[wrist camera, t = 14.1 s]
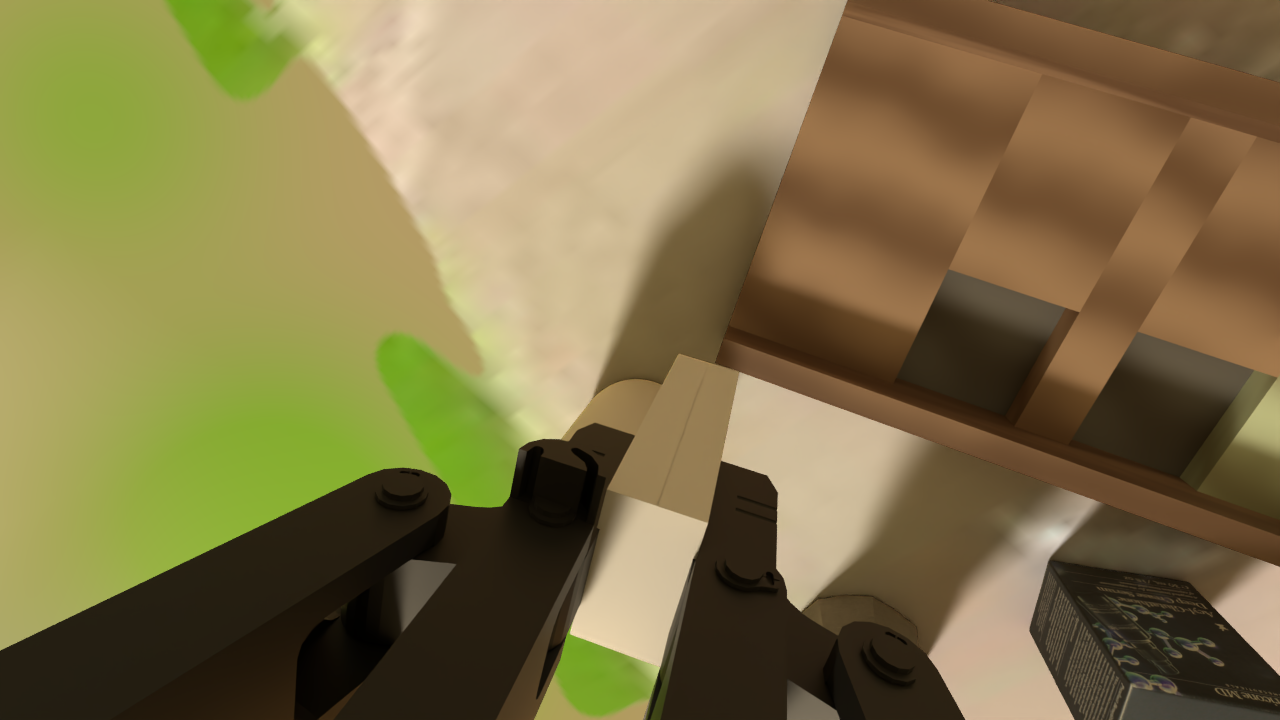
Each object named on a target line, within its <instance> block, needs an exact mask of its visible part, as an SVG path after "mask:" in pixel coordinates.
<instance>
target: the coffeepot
mask: <svg viewBox="0 0 1280 720" xmlns="http://www.w3.org/2000/svg"><path fill="white" fill-rule="evenodd" d="M802 613H803V614H804V615H805V616H807V617H808V618H810V619H811V620H813V621H814V622H816V623H818V624H819V625H821V626H823V627H824V628H826V629H828V630H829V631H831V632H833V633H834V634H836V635H839V633H840V631H841V629H842V627H843V626H845V625H847V624H849V623H852V622H854V621H860V622H873V623H876V624H879V625H882V626H885V627H889V628H891V629H892V630H894V631H896V632H898V633H900V634H901V635H903V636H905V637H906V638H908V639H909V640H910V641H912V642H913V643H914V644H915V645H916V646H917V647H919V644H918V636H917V628H916V626H915V625H913V624H912V623H911V622H909V621H908V620H907V619H906V618H904V617H903V616H902V615H901V614H899V613H898V612H897V611H896V610H894V609H893V608H891V607H890V606H888V605H886V604H884V603H883V602H880V601H878V600H877V599H875V598H874V597H871V596H858V595H840V596H833V597H829V598H826V599H818V600H816V601H815V602H814V603H813V604H812V605H810V606H809V607H808V608H807V609H806V610H804V611H803V612H802Z"/></svg>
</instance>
